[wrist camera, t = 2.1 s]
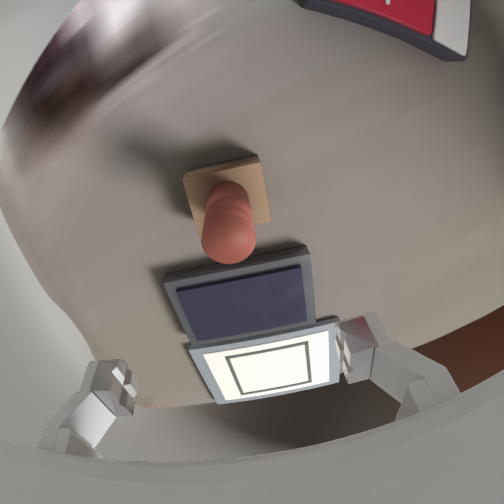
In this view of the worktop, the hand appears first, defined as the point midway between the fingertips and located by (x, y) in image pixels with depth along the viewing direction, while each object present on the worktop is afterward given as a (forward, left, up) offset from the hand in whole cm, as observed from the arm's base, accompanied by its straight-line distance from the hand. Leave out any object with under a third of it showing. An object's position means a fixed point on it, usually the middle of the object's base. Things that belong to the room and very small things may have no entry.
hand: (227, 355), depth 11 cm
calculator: (-18, -17, -18) cm, 31 cm away
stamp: (0, 0, -18) cm, 18 cm away
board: (0, +24, -18) cm, 30 cm away
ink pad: (+1, +11, -18) cm, 21 cm away
